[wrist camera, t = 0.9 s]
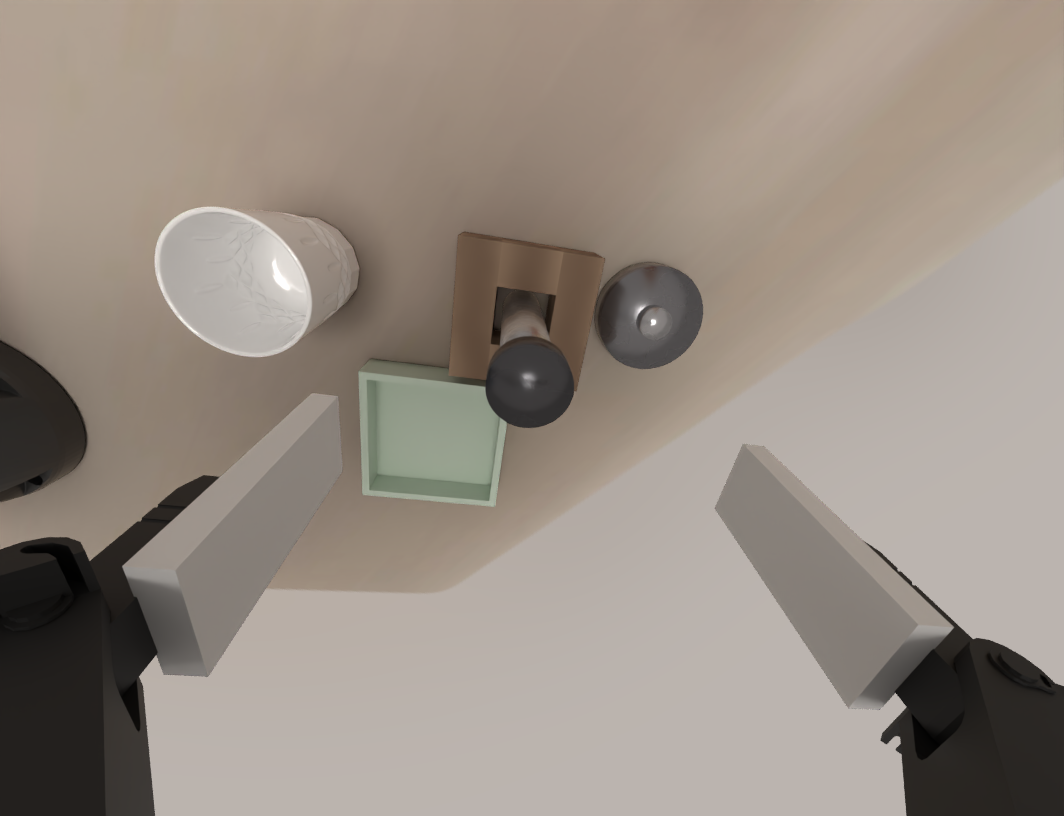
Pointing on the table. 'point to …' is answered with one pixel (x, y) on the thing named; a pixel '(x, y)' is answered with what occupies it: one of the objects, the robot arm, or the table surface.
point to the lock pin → (527, 367)
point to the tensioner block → (525, 269)
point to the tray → (428, 435)
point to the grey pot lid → (648, 315)
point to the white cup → (253, 276)
